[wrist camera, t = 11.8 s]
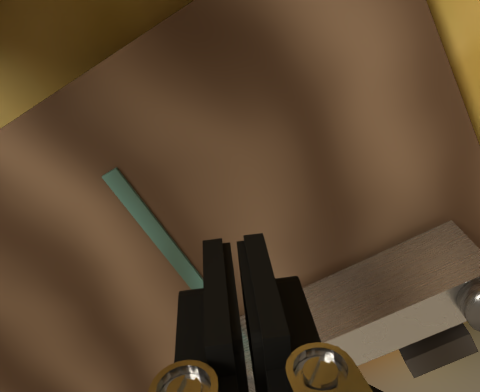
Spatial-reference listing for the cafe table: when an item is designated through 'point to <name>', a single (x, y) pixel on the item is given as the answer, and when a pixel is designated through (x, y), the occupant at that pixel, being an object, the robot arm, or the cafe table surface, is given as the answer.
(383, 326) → the bar
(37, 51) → the cafe table surface
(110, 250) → the jamb plate
